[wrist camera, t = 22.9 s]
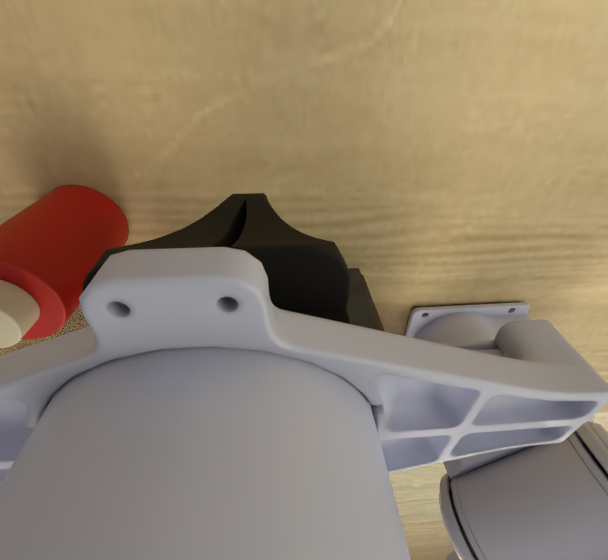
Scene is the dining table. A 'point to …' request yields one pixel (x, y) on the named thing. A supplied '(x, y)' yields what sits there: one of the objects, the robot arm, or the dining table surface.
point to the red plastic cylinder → (52, 258)
